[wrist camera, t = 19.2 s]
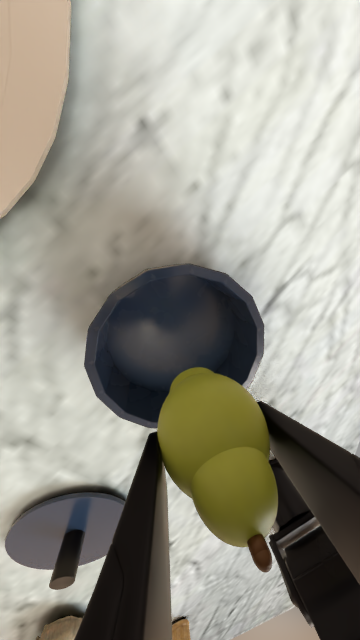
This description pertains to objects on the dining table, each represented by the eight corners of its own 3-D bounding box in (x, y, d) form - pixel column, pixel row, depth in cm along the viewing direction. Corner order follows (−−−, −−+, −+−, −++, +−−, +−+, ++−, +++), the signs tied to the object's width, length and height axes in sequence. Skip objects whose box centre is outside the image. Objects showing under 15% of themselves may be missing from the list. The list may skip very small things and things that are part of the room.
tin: (235, 255, 16) (266, 251, 12) (239, 376, 21) (262, 403, 17) (79, 279, 14) (51, 285, 10) (122, 407, 19) (116, 447, 15)
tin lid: (119, 471, 22) (112, 522, 18) (144, 531, 27) (144, 582, 23) (-14, 513, 20) (-59, 583, 15) (41, 570, 25) (19, 634, 21)
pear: (229, 344, 10) (371, 476, 4) (233, 408, 12) (335, 573, 5) (146, 364, 9) (148, 567, 3) (162, 429, 11) (185, 646, 5)
